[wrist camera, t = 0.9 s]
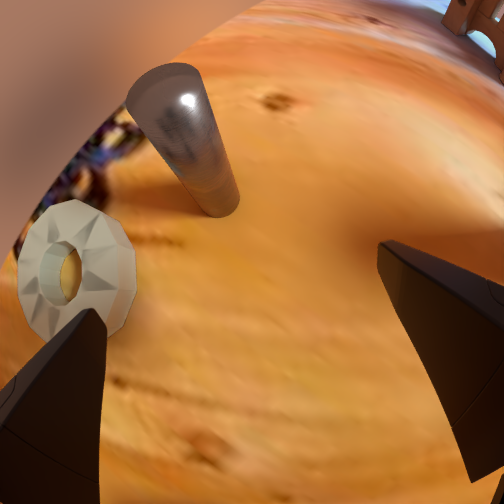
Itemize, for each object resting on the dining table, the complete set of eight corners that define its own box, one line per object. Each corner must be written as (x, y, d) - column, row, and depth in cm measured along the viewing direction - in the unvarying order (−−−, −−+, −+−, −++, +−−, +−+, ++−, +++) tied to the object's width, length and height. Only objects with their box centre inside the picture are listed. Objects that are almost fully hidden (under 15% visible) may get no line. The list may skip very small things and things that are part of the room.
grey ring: (107, 370, 21) (87, 377, 18) (26, 303, 22) (6, 302, 19) (159, 241, 22) (143, 232, 19) (67, 195, 24) (48, 185, 21)
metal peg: (228, 223, 22) (174, 128, 9) (192, 209, 22) (111, 113, 10) (246, 187, 22) (216, 68, 10) (210, 174, 23) (153, 59, 10)
